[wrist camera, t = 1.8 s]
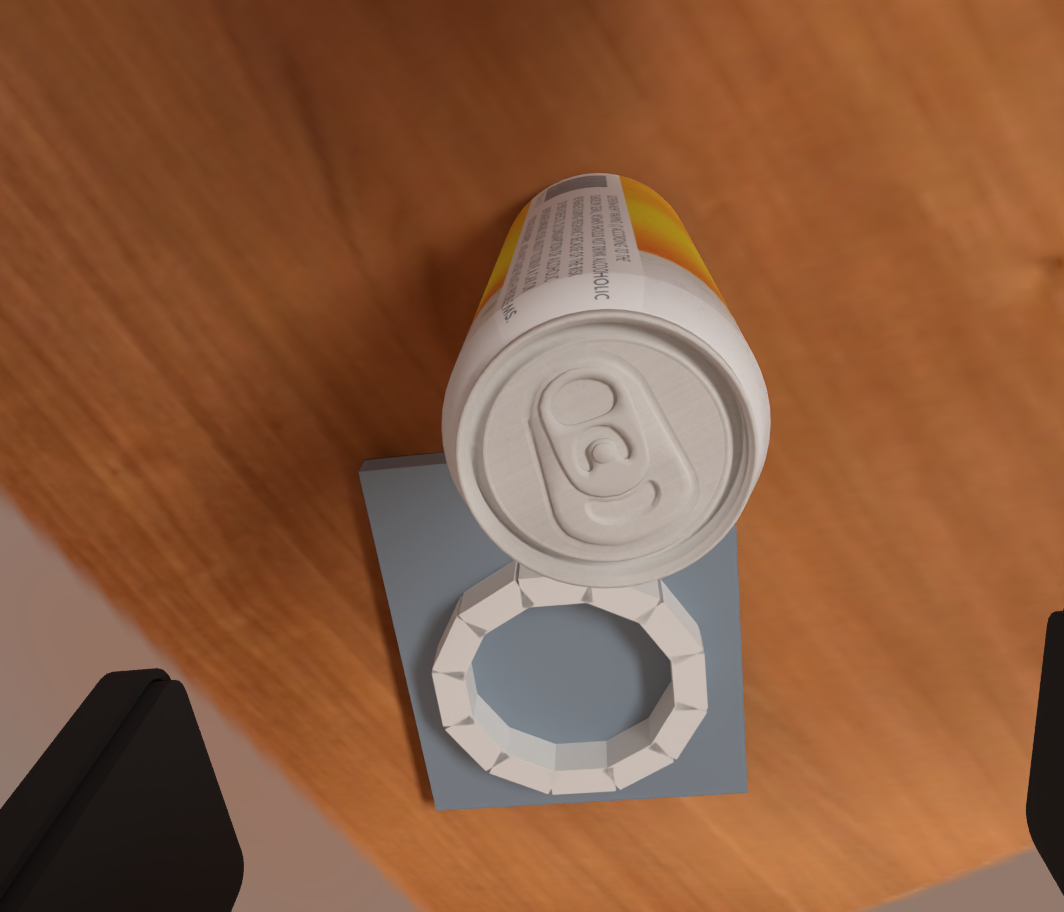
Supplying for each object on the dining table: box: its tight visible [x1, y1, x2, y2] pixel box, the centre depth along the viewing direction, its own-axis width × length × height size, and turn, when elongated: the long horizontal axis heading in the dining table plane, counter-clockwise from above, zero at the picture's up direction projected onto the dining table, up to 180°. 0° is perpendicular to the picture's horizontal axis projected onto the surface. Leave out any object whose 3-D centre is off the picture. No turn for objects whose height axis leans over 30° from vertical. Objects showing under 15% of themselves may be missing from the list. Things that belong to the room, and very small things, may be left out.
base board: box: [358, 452, 747, 811], centre depth 34 cm, size 16×13×2 cm
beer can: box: [442, 173, 771, 588], centre depth 23 cm, size 6×6×15 cm
